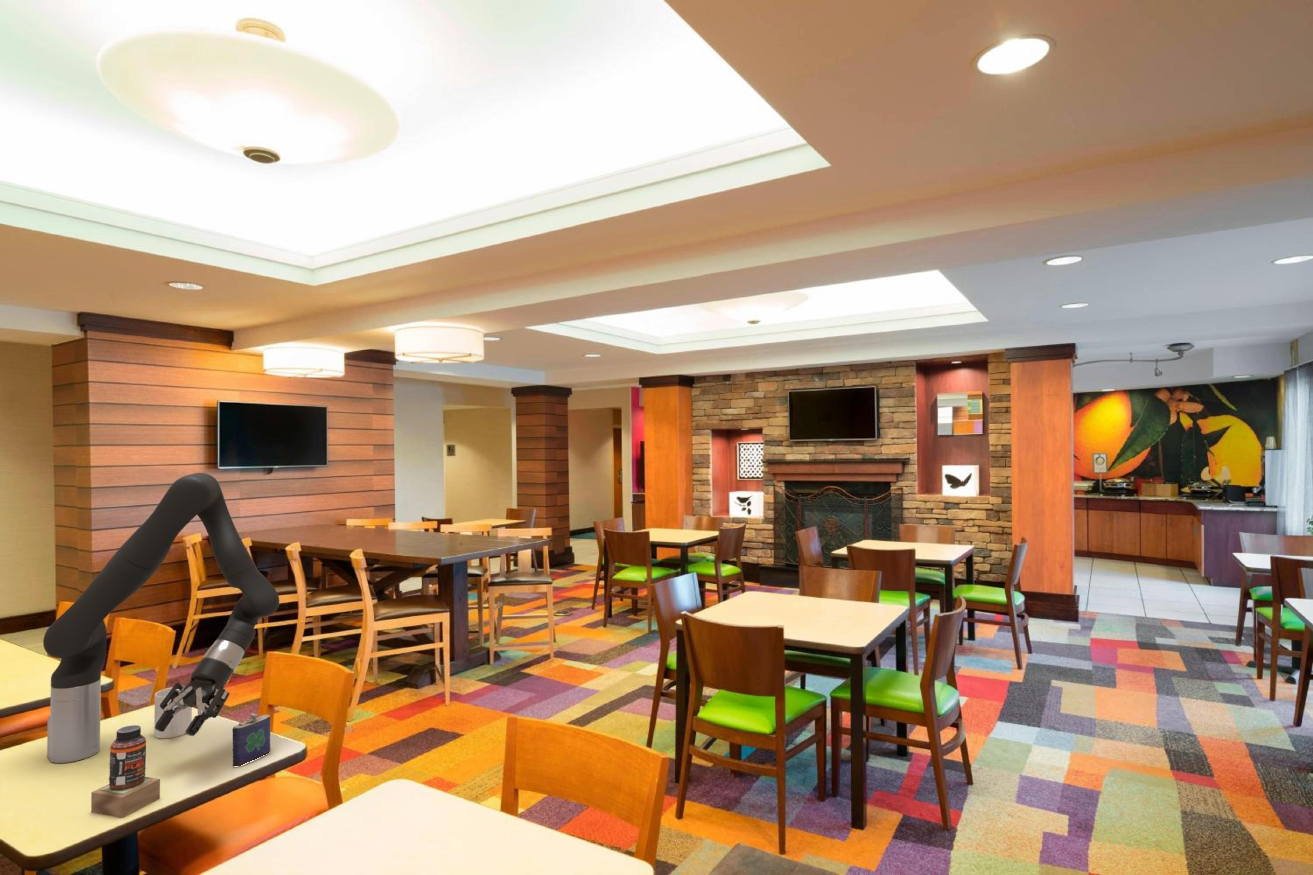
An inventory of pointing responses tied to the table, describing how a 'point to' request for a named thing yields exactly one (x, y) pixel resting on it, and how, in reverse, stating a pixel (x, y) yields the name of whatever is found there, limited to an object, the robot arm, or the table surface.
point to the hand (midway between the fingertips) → (173, 732)
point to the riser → (125, 798)
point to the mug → (178, 721)
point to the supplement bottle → (127, 758)
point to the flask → (251, 739)
